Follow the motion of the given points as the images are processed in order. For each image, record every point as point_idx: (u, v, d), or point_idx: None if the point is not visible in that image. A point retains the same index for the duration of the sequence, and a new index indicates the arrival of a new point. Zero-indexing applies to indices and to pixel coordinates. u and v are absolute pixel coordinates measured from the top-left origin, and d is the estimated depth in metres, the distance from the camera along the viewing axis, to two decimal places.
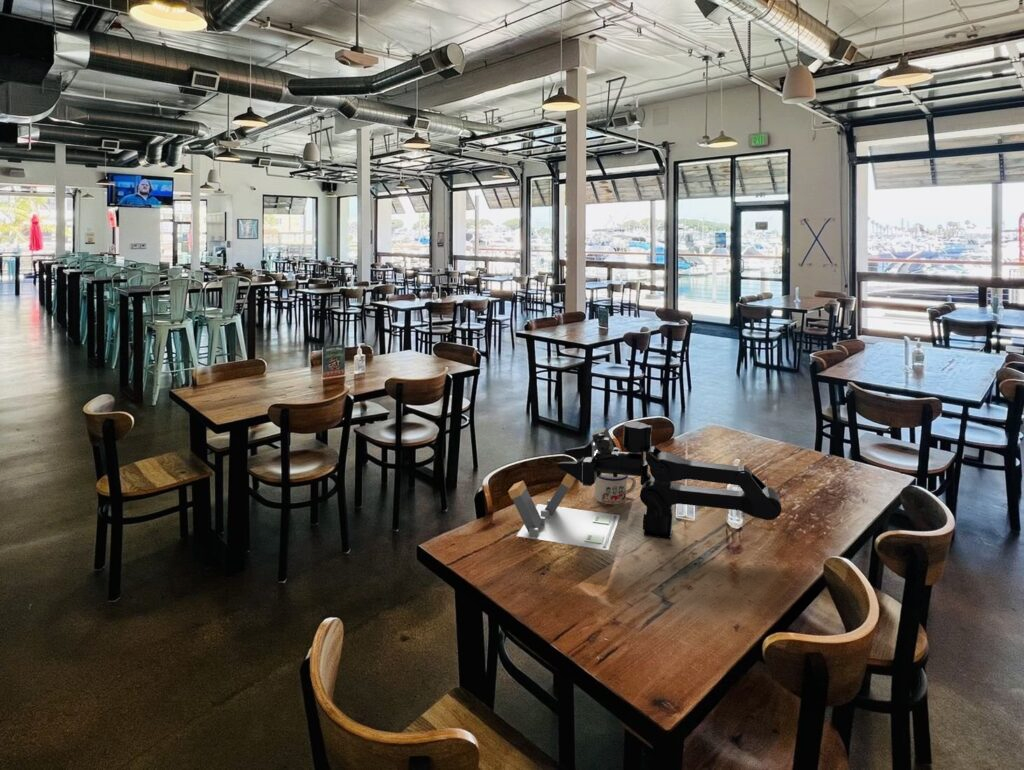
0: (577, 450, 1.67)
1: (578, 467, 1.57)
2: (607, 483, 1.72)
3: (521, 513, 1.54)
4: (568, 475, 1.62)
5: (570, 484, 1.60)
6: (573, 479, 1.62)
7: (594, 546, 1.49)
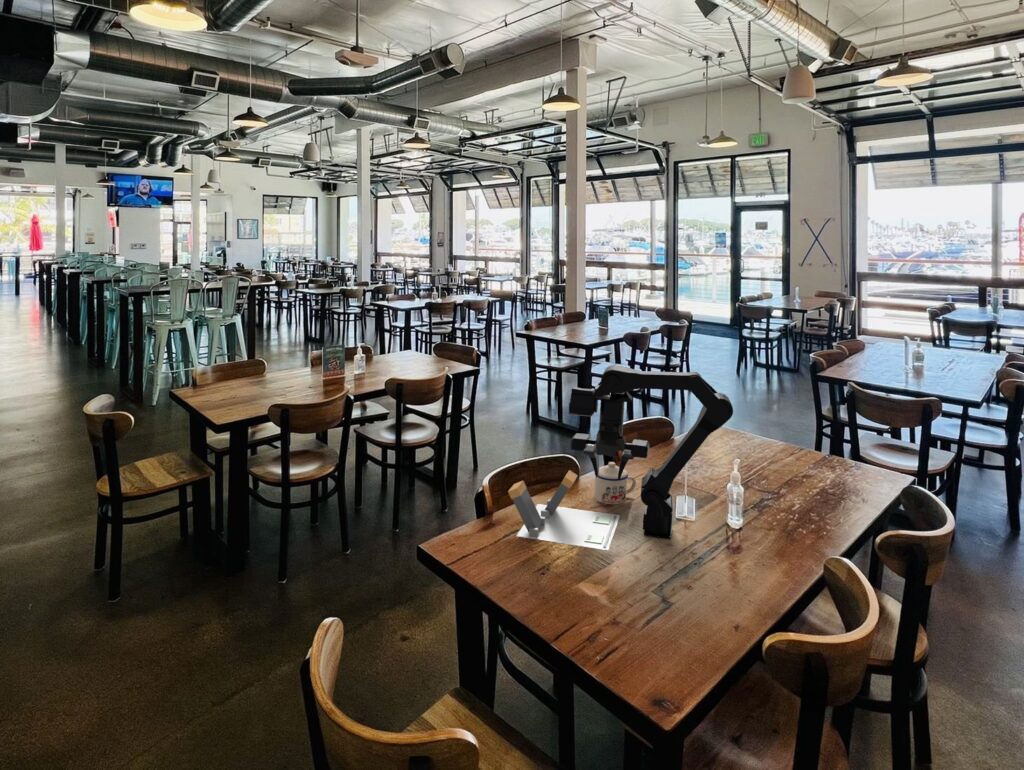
0: (597, 464, 1.59)
1: None
2: (607, 483, 1.72)
3: (521, 513, 1.54)
4: (568, 475, 1.62)
5: (570, 484, 1.60)
6: (573, 479, 1.62)
7: (594, 546, 1.49)
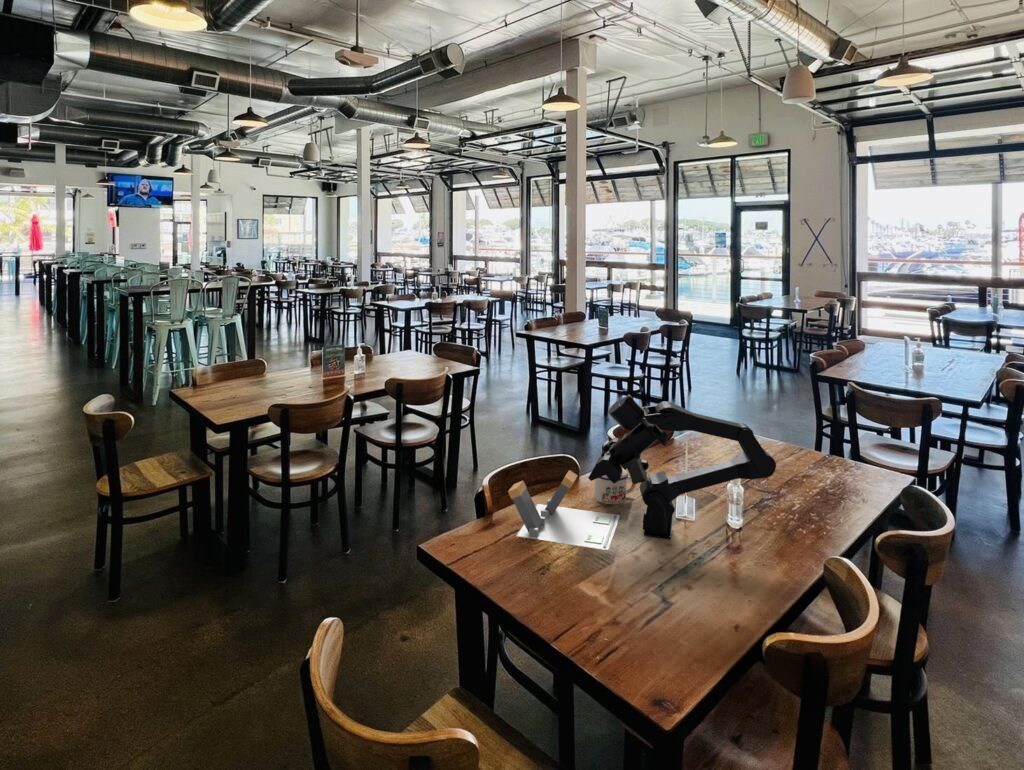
0: None
1: None
2: (607, 483, 1.72)
3: (521, 513, 1.54)
4: (568, 475, 1.62)
5: (570, 484, 1.60)
6: (573, 479, 1.62)
7: (594, 546, 1.49)
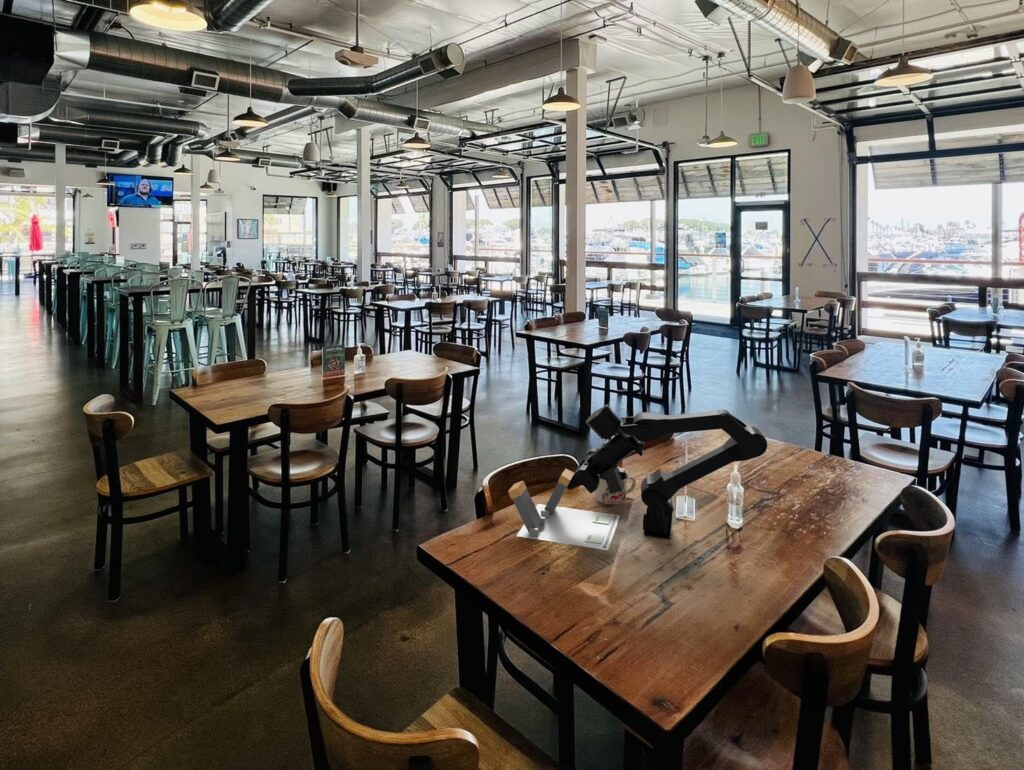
0: None
1: None
2: None
3: (521, 513, 1.54)
4: (564, 473, 1.62)
5: (567, 482, 1.61)
6: (570, 477, 1.62)
7: (594, 546, 1.49)
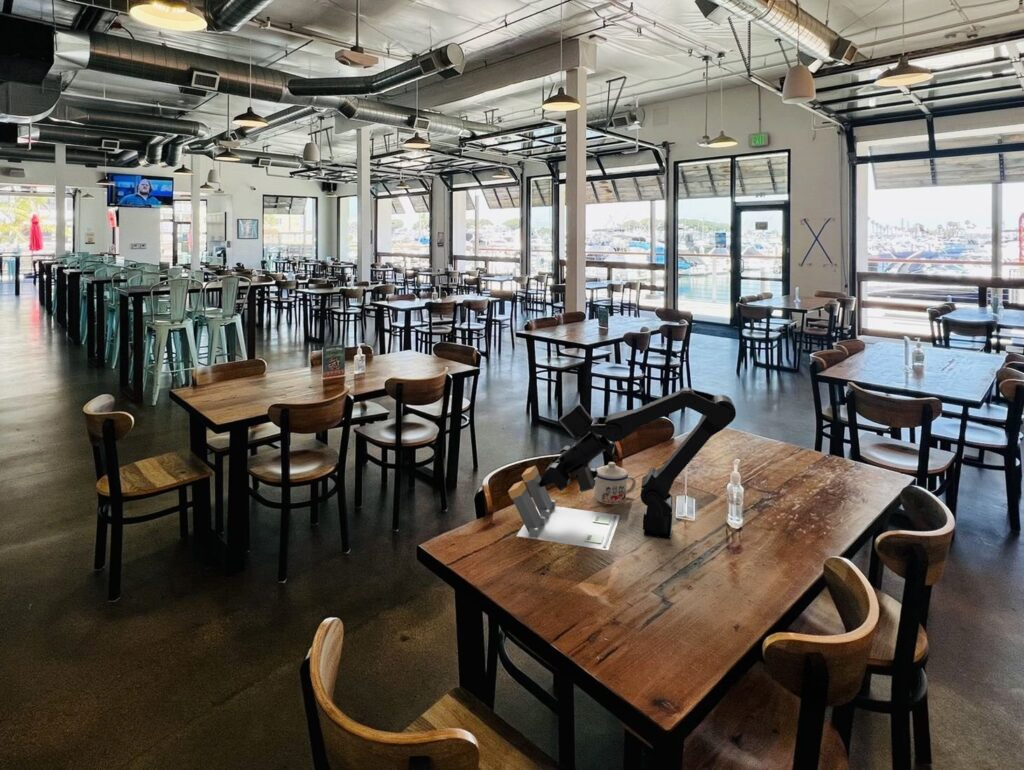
0: None
1: None
2: (607, 483, 1.72)
3: (521, 513, 1.54)
4: (525, 472, 1.66)
5: (530, 475, 1.63)
6: (530, 470, 1.65)
7: (594, 546, 1.49)
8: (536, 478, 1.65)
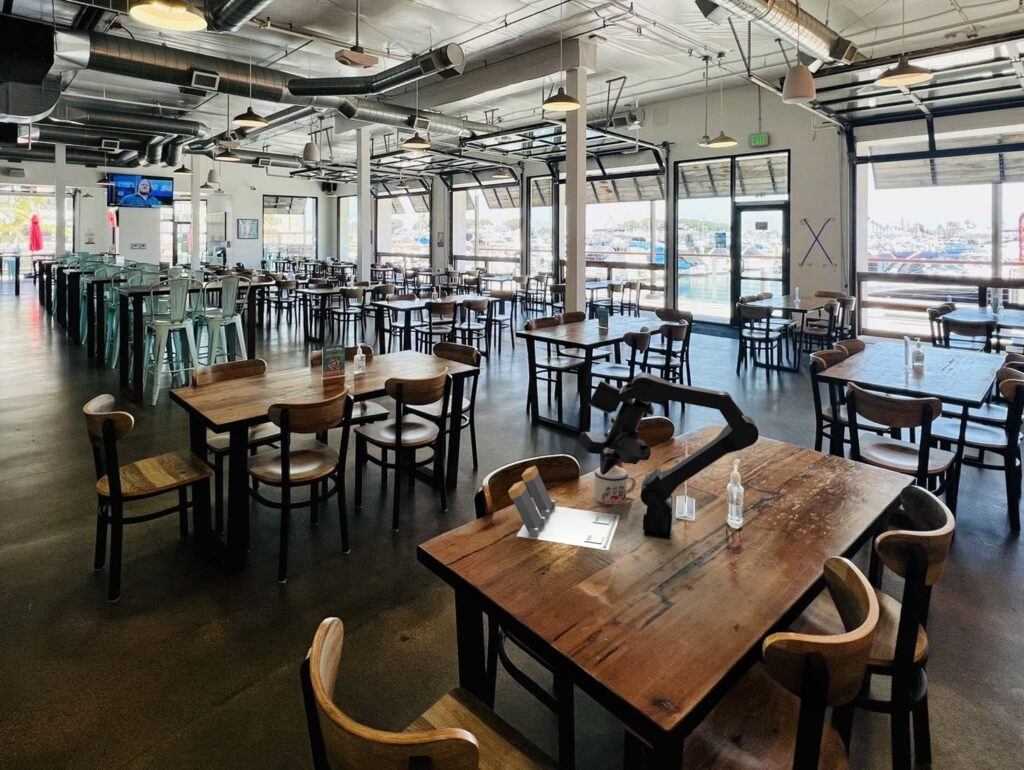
0: None
1: None
2: (607, 483, 1.72)
3: (521, 513, 1.54)
4: (525, 472, 1.66)
5: (530, 475, 1.63)
6: (530, 470, 1.65)
7: (594, 546, 1.49)
8: (536, 478, 1.65)
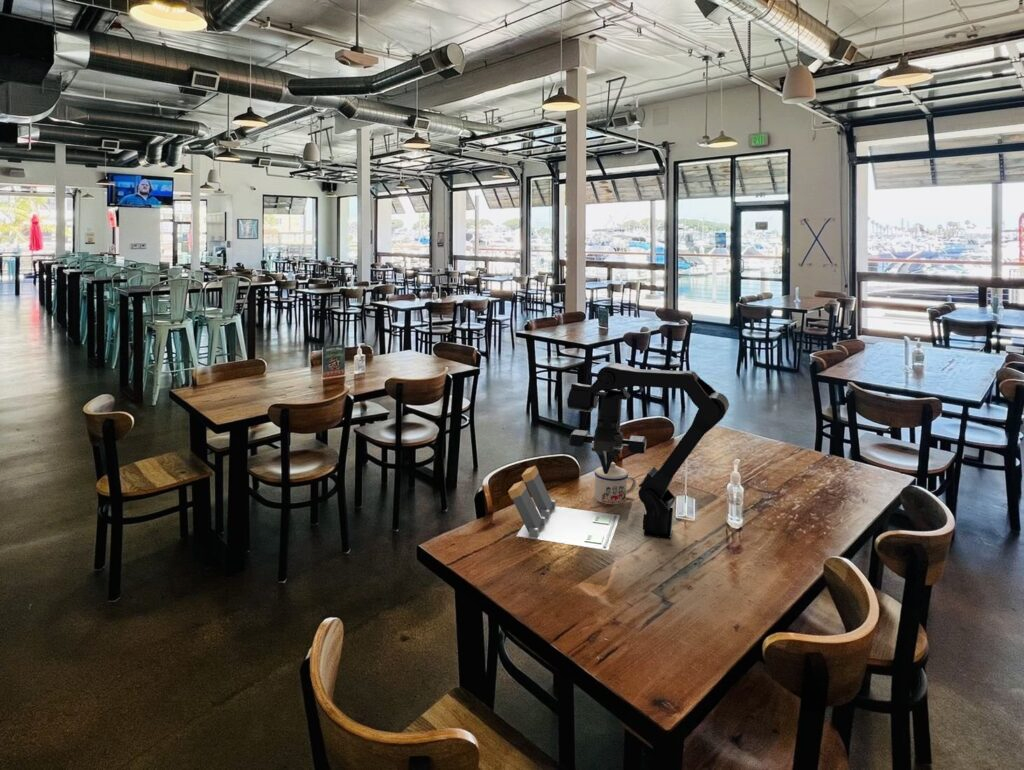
0: (605, 461, 1.62)
1: None
2: (607, 483, 1.72)
3: (521, 513, 1.54)
4: (525, 472, 1.66)
5: (530, 475, 1.63)
6: (530, 470, 1.65)
7: (594, 546, 1.49)
8: (536, 478, 1.65)
